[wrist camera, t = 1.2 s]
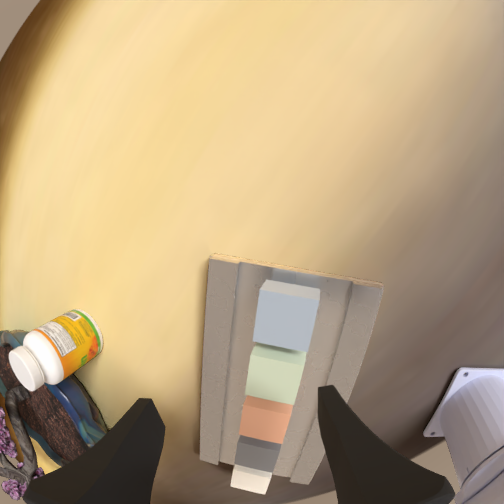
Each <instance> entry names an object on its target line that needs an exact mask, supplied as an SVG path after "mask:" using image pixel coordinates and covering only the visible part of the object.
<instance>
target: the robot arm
mask: <svg viewBox="0 0 504 504" xmlns="http://www.w3.org/2000/svg"><path fill="white" fill-rule="evenodd" d="M466 372H467V373H466ZM465 373H466V374H465ZM464 374H465V375H464ZM318 423H319V428H320V434H321V438H322V442H323V445H324V448H325V452H326V455H327V458H328V461H329V465H330V468H331V471H332V474H333V478H334V482H335V487H336V493H337V498H338V504H449V503H450V502H451V500H452V499H453V498H454V499H455V503H456V504H504V369H492V368H459V369H458V370H457V371H456V373H455V375H454V377H453V379H452V381H451V383H450V385H449V387H448V389H447V391H446V393H445V395H444V397H443V399H442V401H441V403H440V404H439V406H438V408H437V410H436V412H435V413H434V415H433V417H432V419H431V420H430V422H429V424H428V425H427V427H426V429H425V430H424V432H423V434H424V436H425V437H444V436H445V439H446V442H447V445H448V448H449V451H450V454H451V458H452V461H453V464H454V467H455V471H456V474H457V478H458V481H459V485H460V489H461V490H460V491H459V492H458V493H457V494H456V495H455V492H454V490H453V488H452V486H451V484H450V483H449V481H448V480H447V479H446V477H445V476H442V475H439V474H437V473H434V472H432V471H430V470H427V469H425V468H423V467H422V466H420V465H418V464H416V463H414V462H412V461H411V460H409V459H407V458H406V457H404V456H403V455H401V454H399V453H398V452H396V451H395V450H394V449H392V448H391V447H390V446H388V445H387V444H386V443H385V442H383V441H382V440H381V439H380V438H379V437H377V436H376V435H375V434H374V433H373V432H372V431H371V430H370V429H369V428H368V427H367V426H366V425H365V424H364V423H363V422H362V421H361V420H360V419H359V418H358V416H357V415H356V414H355V413H354V412H353V411H352V410H351V408H350V407H349V406H348V405H347V403H346V402H345V401H344V399H343V398H342V397H341V395H340V394H339V392H338V391H337V389H336V388H335V386H334V385H327V386H322V387H318ZM432 432H433V433H432ZM164 435H165V425H164V423H163V421H162V419H161V417H160V415H159V413H158V411H157V409H156V407H155V405H154V403H153V401H152V399H148V398H139V399H138V400H137V401H136V402H135V403H134V405H133V406H132V407H131V408H130V409H129V410H128V411H127V412H126V414H125V415H124V416H123V417H122V418H121V419H120V420H119V421H118V422H117V423H116V424H115V425H114V427H113V428H112V429H111V430H110V431H109V432H108V433H107V434H106V435H104V436H103V437H102V438H101V439H100V440H99V441H98V442H97V443H96V444H95V445H94V446H92V447H91V448H90V449H89V450H87V451H86V452H85V453H83V454H82V455H81V456H79V457H78V458H76V459H74V460H73V461H71V462H70V463H68V464H66V465H65V466H63V467H61V468H59V469H57V470H55V471H53V472H51V473H48V474H46V475H43V476H40V477H37V478H35V479H31V480H30V482H29V484H28V486H27V489H26V491H25V493H24V495H23V497H22V498H23V500H24V501H25V502H26V503H27V504H150V498H151V490H152V485H153V481H154V477H155V474H156V470H157V466H158V463H159V459H160V455H161V452H162V448H163V443H164Z"/></svg>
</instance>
